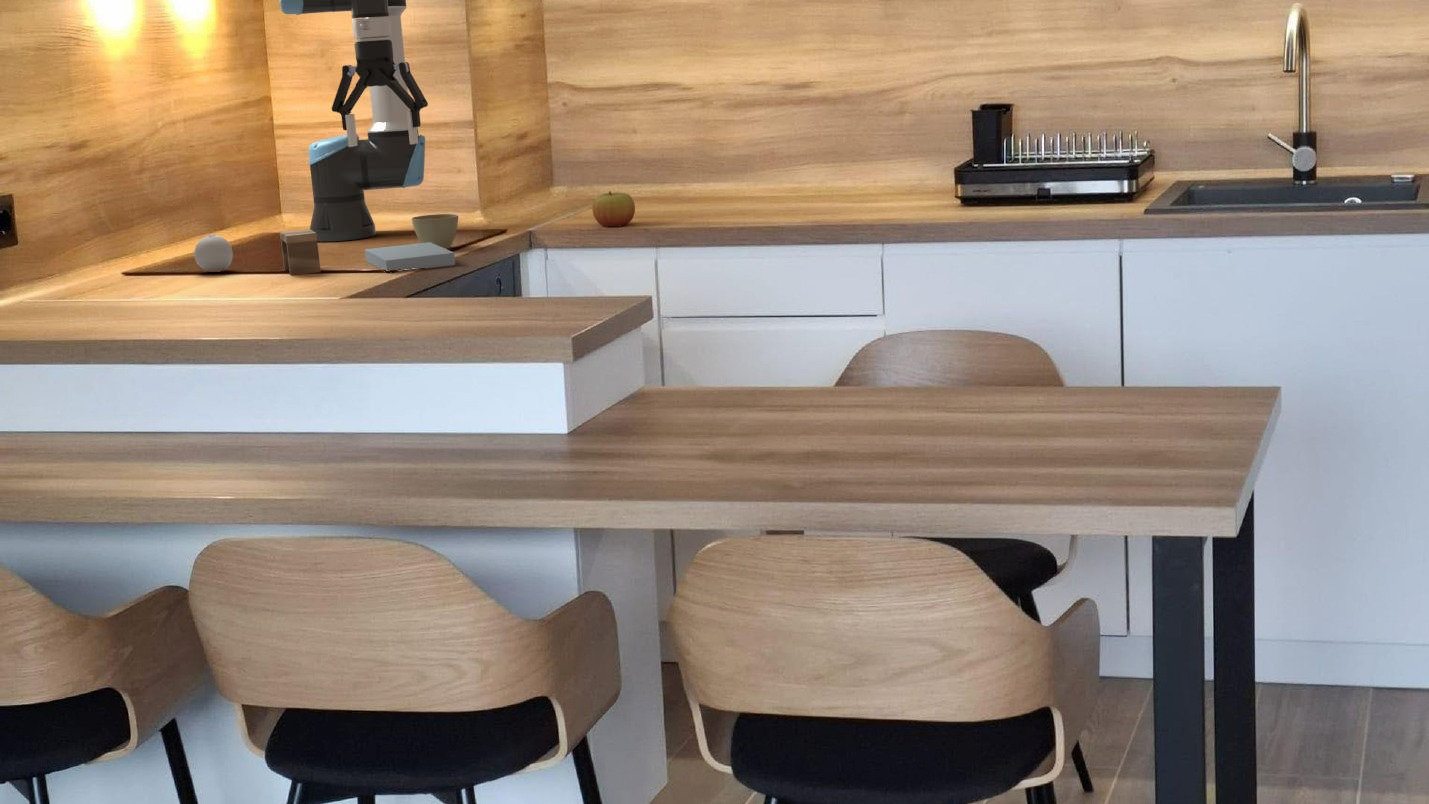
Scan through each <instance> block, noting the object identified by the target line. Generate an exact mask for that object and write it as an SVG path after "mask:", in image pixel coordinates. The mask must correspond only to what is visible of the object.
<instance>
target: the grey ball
mask: <svg viewBox="0 0 1429 804" xmlns="http://www.w3.org/2000/svg"><path fill="white" fill-rule="evenodd" d="M193 255H194V259H195V262H196V263H197V265H198V266H199V267H200V268H201V269H202V270H204V271H205V270H211V271H213V270H214V271H218V270H224V271H225V270H226V269H228V267H229V266H230V265H231V263H232V261H233V257H234V254H233V248H232V245H231V243H230V242H229V241H228V240H227V239H225V238H224V237H222V236H220V235H217V234H208V235H207V236H205V237H203V238H201V239H200V240H199V241H198V242H197V244H195V247H194V253H193Z"/></svg>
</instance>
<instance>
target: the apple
mask: <svg viewBox="0 0 1429 804" xmlns="http://www.w3.org/2000/svg"><path fill="white" fill-rule="evenodd" d="M635 205H636V204H635V201H634V199H633V198H632V196H631V195H630V194H628V193H625V192H611V191H610V190H609V191H608V192H607V193H603V194H602V193H601V194H600V195H598V196H597V197H596V198H595V199H594V200H593V202H592V207H591V209H592V215H593V217H594V219H595V221H596V222H597V223H598V224H599V225H601V226H602V227H605V226H608V227H607V228H610V227H609V226H619V225H624V226H626V224H627V225H628V224H629V223H631V221H632V220H633V218H634V215H635V214H636V206H635ZM619 227H620V226H619Z"/></svg>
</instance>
